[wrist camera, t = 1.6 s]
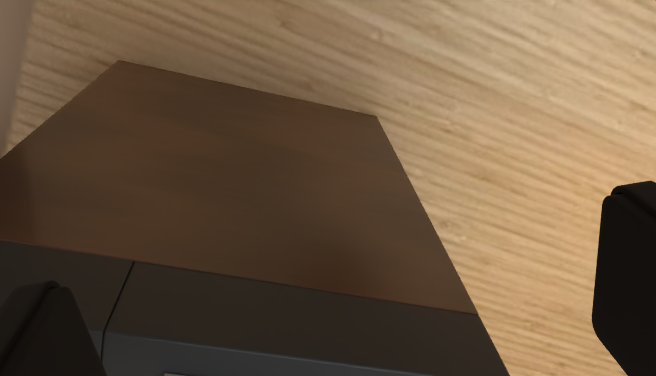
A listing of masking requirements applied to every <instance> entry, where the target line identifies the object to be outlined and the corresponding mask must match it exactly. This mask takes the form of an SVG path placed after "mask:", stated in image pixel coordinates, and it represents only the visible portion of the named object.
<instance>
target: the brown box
mask: <svg viewBox="0 0 656 376" xmlns="http://www.w3.org/2000/svg"><path fill="white" fill-rule="evenodd" d="M0 240H3V241H9V242H16V243H22V244H29V245H35V246H41V247H48V248H54V249H60V250H67V251H73V252H79V253H86V254H92V255H99V256H105V257H111V258H118V259H124V260H130V261H133V264H134V263H135V262H140V263H146V264H153V265H159V266H165V267H172V268H178V269H184V270H191V271H197V272H204V273H210V274H216V275H223V276H229V277H235V278H242V279H248V280H255V281H261V282H267V283H274V284H280V285H286V286H293V287H299V288H306V289H312V290H318V291H325V292H331V293H337V294H344V295H350V296H357V297H363V298H369V299H376V300H382V301H388V302H395V303H401V304H408V305H414V306H420V307H427V308H433V309H439V310H446V311H452V312H459V313H465V314H471V315H477V316H478V312H477V310H476V308H475V306H474V304H473V302H472V300H471V298H470V297H469V295H468V293H467V291H466V289H465V287H464V285H463V283H462V281H461V279H460V277H459V275H458V273H457V271H456V269H455V267H454V266H453V264H452V262H451V260H450V258H449V256H448V254H447V252H446V250H445V248H444V246H443V244H442V242H441V240H440V238H439V236H438V235H437V233H436V231H435V229H434V227H433V225H432V223H431V221H430V219H429V217H428V215H427V213H426V211H425V209H424V207H423V205H422V204H421V202H420V200H419V198H418V196H417V194H416V192H415V190H414V188H413V186H412V184H411V182H410V180H409V178H408V176H407V174H406V173H405V171H404V169H403V167H402V165H401V163H400V161H399V159H398V157H397V155H396V153H395V151H394V149H393V147H392V145H391V144H390V142H389V140H388V138H387V136H386V134H385V132H384V130H383V128H382V126H381V124H380V122H379V120H378V118H377V117H376V116H372V115H367V114H363V113H358V112H354V111H349V110H344V109H340V108H335V107H331V106H326V105H321V104H317V103H312V102H308V101H303V100H299V99H294V98H289V97H285V96H280V95H276V94H271V93H266V92H262V91H257V90H253V89H248V88H243V87H239V86H234V85H230V84H225V83H220V82H216V81H211V80H207V79H202V78H197V77H193V76H188V75H184V74H179V73H175V72H170V71H165V70H161V69H156V68H152V67H147V66H142V65H138V64H133V63H129V62H124V61H117V62H116V63H115V64H114V65H112V66H111V67H110V68H109V69H108V70H106V71H105V72H104V73H103V74H102V75H100V76H99V77H98V78H97V79H96V80H94V81H93V82H92V83H91V84H90V85H88V86H87V87H86V88H85V89H84V90H82V91H81V92H80V93H79V94H78V95H76V96H75V97H74V98H73V99H72V100H70V101H69V102H68V103H67V104H66V105H64V106H63V107H62V108H61V109H60V110H58V111H57V112H56V113H55V114H54V115H52V116H51V117H50V118H49V119H48V120H46V121H45V122H44V123H43V124H42V125H40V126H39V127H38V128H37V129H36V130H34V131H33V132H32V133H31V134H30V135H28V136H27V137H26V138H25V139H24V140H22V141H21V142H20V143H19V144H18V145H16V146H15V147H14V148H13V149H12V150H10V151H9V152H8V153H7V154H6V155H5V156H3V157H2V158H1V159H0Z"/></svg>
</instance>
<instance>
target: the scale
mask: <svg viewBox="0 0 656 376" xmlns="http://www.w3.org/2000/svg"><path fill="white" fill-rule="evenodd" d="M50 280H53V281H56V282H57V283H58V284H59V285H60V286H61V287H68V288H69V289H70V290H71V292H72V293H73V296H74V298H75V300H76V303H77V305H78V308H79V310H80V312H81V315H82V317H83V319H84V322H85V324H86V326H87V329H88V331H89V334H90V336H91V338H92V341H93V343H94V345H95V348H96V350H97V353H98V355H99V357H100V360H101V362H102V364H103V367H104V369H105V372H106V374H107V376H510V375H509V373H508V371H507V369H506V367H505V365H504V363H503V361H502V359H501V358H500V356H499V354H498V352H497V350H496V348H495V346H494V344H493V342H492V340H491V338H490V336H489V334H488V332H487V330H486V328H485V326H484V325H483V323H482V321H481V319H480V317H479V316H477V315H471V314H465V313H459V312H452V311H446V310H439V309H433V308H427V307H420V306H414V305H408V304H401V303H395V302H388V301H382V300H376V299H369V298H363V297H357V296H350V295H344V294H337V293H331V292H325V291H318V290H312V289H306V288H299V287H293V286H286V285H280V284H274V283H267V282H261V281H255V280H248V279H242V278H235V277H229V276H223V275H216V274H210V273H204V272H197V271H191V270H184V269H178V268H172V267H165V266H159V265H153V264H146V263H140V262H135V263H134V264H133V261H130V260H124V259H118V258H111V257H105V256H99V255H92V254H86V253H79V252H73V251H67V250H60V249H54V248H48V247H41V246H35V245H29V244H22V243H16V242H9V241H3V240H0V308H1V307H2V305H3V304H4V302H5V301H6V299H7V298H8V297H9V295H10V294H11V292H12V291H13V290H14V289H15V288H16V287H17V286H21V285H26V284H32V283H38V282H44V281H50Z"/></svg>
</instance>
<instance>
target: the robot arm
mask: <svg viewBox="0 0 656 376" xmlns="http://www.w3.org/2000/svg"><path fill="white" fill-rule="evenodd" d="M592 324H593V328H594V331H595V333H596V335H597V337H598V338H599V340H600V341H601V342H602V343H603V345H604V346H605V347H606V349H607V350H608V351H609V352H610V354H611V355H612V356H613V357H614V359H615V360H616V361H617V362H618V364H619V365H620V366H621V368H622V369H623V370H624V371H625V373H626V374H627V375H628V376H656V183H655V182H653V181H645V182H639V183H633V184H627V185H621V186H617V187H615V188H614V189H613V191H612V192H611V196H607V197H605V199H604V200H603V204H602V213H601V223H600V234H599V245H598V256H597V266H596V277H595V288H594V299H593V309H592ZM0 376H107V374H106V372H105V369H104V367H103V364H102V362H101V360H100V357H99V355H98V353H97V350H96V348H95V345H94V343H93V341H92V338H91V336H90V334H89V331H88V329H87V326H86V324H85V322H84V319H83V317H82V315H81V312H80V310H79V308H78V305H77V303H76V300H75V298H74V296H73V293H72V292H71V290H70V289H69V288H68V287H61V286H60V285H59V284H58V283H57V282H56V281H53V280H50V281H44V282H38V283H32V284H26V285H21V286H17V287H16V288H15V289H14V290H13V291H12V292H11V294H10V295H9V297H8V298H7V299H6V301H5V302H4V304H3V305H2V307H1V308H0Z"/></svg>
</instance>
